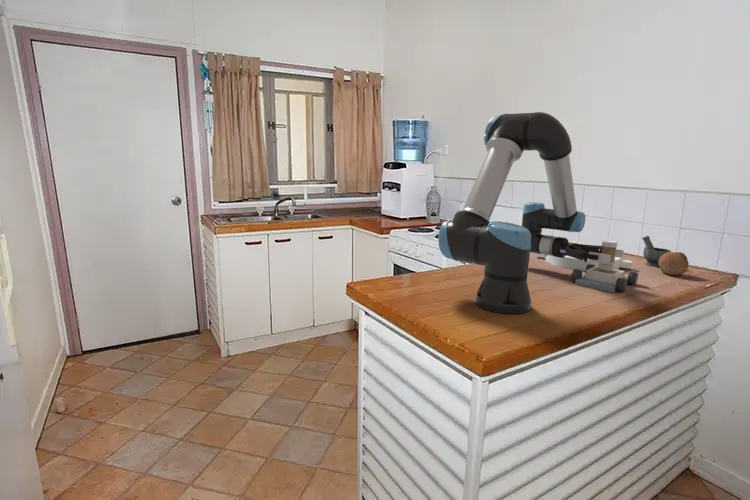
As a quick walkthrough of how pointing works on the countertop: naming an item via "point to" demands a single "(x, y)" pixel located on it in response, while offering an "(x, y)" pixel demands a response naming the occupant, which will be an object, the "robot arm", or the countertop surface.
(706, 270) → the countertop surface
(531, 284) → the countertop surface
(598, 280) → the toy chassis
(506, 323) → the countertop surface
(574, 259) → the white circle with bar
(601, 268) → the spice jar
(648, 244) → the mortar and pestle
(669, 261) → the brown round lump
